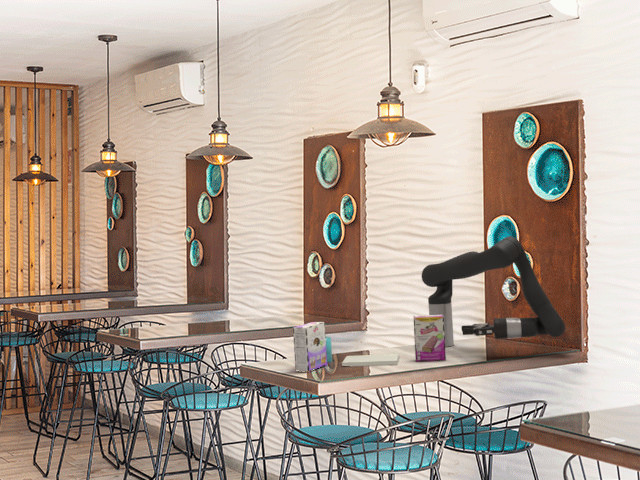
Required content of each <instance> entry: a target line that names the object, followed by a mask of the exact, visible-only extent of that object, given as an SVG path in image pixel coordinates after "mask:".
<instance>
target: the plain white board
mask: <svg viewBox="0 0 640 480" xmlns="http://www.w3.org/2000/svg"><path fill="white" fill-rule="evenodd" d="M399 361H400V354H399V353H393V354H391V353H390V354H368V355H366V354H365V355H361V354H360V355H346V357H345V358H344V359H343V361H342V362H341V367H342V366H350V367H369V366H370V367H374V366H376V365H377V366H378V367H379V366H396V365H397V366H398V363H399ZM377 366H376V367H377Z"/></svg>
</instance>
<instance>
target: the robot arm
mask: <svg viewBox="0 0 640 480" xmlns="http://www.w3.org/2000/svg"><path fill="white" fill-rule="evenodd" d="M513 264H514V265H515V267H516V268H517V270H518V273H519V277H520V282H521V289H522V293H523V294H522V295H523V296H524V299H525V301H526V302H527V304H528V305H529V307H530V309H531V310H532V312H533V313H534V314H535V315H536V317H499V318H497V317H495V318H493V319H492V321H493V322H492V323H493V324H491V323H489V322H485V323H472V325H471V324H470V325H466V324H465V325H462V326H461V332H462V335H463V336H467V335H468V336H471V335H473V336H476V337H478V336H479V337H480V336H493V337H494V339H495V340H506V339H509V340H510V339H520V338H532V337H533V338H534V337H536V336H541V335H542V336H543V335H545V336H547V335H549V336H551V337H554V338H558V337H560V336H562V335H564V333H565V331H566V324H565V321H564V320H563V318H562V317H561V316H560V314H559V312H557V310H556V309H555V308H554V306H553V304H552V302H551V301H550V299H549V297H548V296H547V294H546V292H545V291H544V289H543V288H542V286H541V284H540V282H539V281H538V279H537V276H536V274H535V272H534V269H533V266H532V265H531V263H530V260H529V258H528V255H527V254H526V251H525V249H524V247H523V245H522V243H521V242H520V241H519V240H518V238H516V237H514V236H511V235H508V236H506V237H505V236H504V237H503V238H502V239H501V240H499V241H498V242H497V243H495V244H494V245H492V246H491V247H488V248H487V249H485V250H483V251H480V252H478V251H473V250H472V251H468V252H465V253H462V254H459V255H457V256H454V257H452V258H449V259H447V260H444V261H443V262H440V263H432V264H428V265H426V266H425V267H424V268H423V270H422V271H421V281H422V282H423V283H424V285H425V286H427V287H429V288H436V290H435V292H434V293H432V294H431V295H430V296H428V297H427V299H428V302H427V303H428V315H443V316H444V333H445V348H446V347H452V346H455V345H454V343H455V340H454V339H455V338H454V325H453V310H452V309H453V307H452V306H453V305H452V298H453V280H461V279H467V278H471V277H475V276H478V275H480V274H483V273H485V272H487V271H492V270H493V271H494V270H499V269H505V268H507V267H510V266H511V265H513Z"/></svg>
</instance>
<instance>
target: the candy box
mask: <svg viewBox="0 0 640 480" xmlns="http://www.w3.org/2000/svg"><path fill="white" fill-rule="evenodd" d="M292 331H293V332H292V333H293V334H292V335H293V348H294V349H293V351H294V365H295V367H294V368H295V371H296V370H299V371H310V370H313V369H317V368H319V369H321V368H320V367H322V368H325V367H327V366H328V362H327V351H326V337H327V335H326V327H325V322H324V321H312V322H308V323H305V324H300V325H297V326H293V327H292ZM317 370H318V369H317Z"/></svg>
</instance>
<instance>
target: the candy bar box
mask: <svg viewBox="0 0 640 480" xmlns="http://www.w3.org/2000/svg"><path fill="white" fill-rule="evenodd" d="M413 334H414V352H415V353H414V354H415V357H414V358H415V361H416V362H433V361H435V362H436V361H439V362H440V360H441V361H446V360H447V359H446V358H447V355H446V353H447V351H446V347H445V333H444V316H443V315H429V314H425V315H413Z"/></svg>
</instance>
